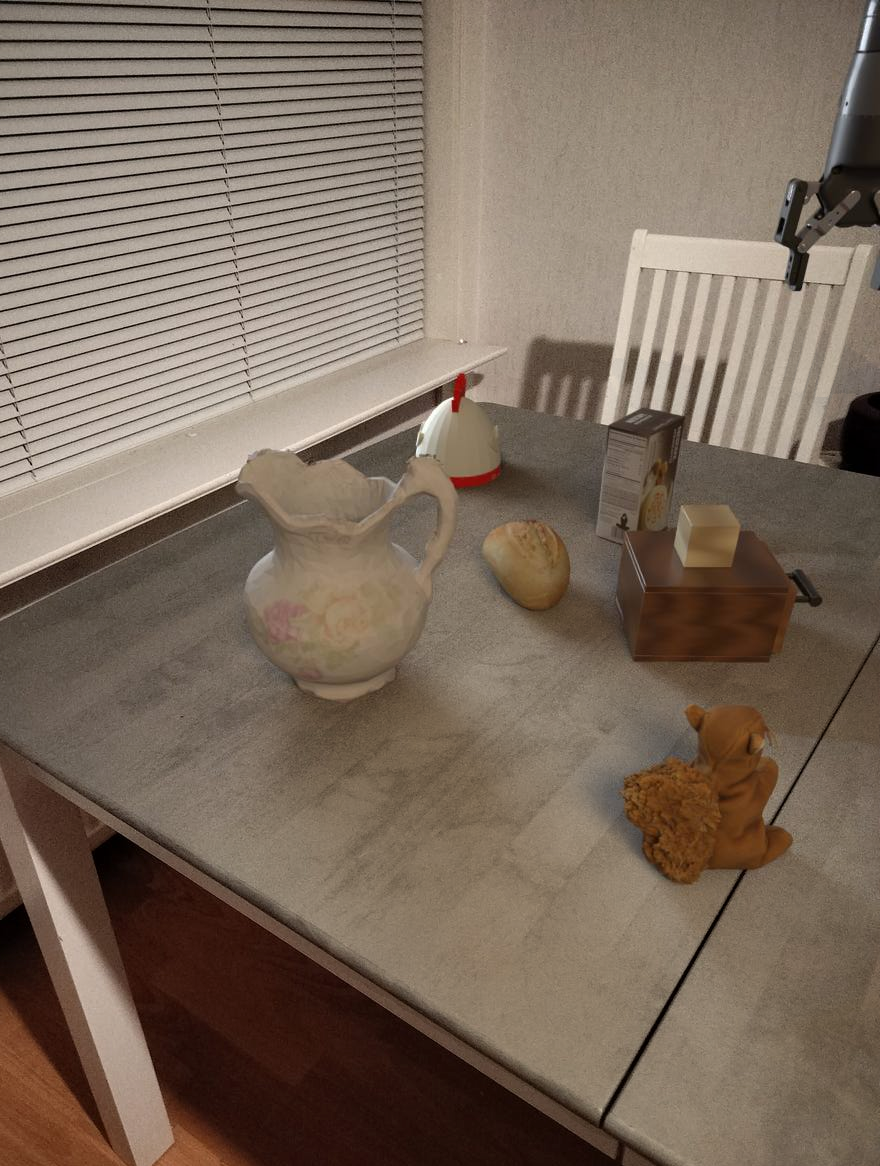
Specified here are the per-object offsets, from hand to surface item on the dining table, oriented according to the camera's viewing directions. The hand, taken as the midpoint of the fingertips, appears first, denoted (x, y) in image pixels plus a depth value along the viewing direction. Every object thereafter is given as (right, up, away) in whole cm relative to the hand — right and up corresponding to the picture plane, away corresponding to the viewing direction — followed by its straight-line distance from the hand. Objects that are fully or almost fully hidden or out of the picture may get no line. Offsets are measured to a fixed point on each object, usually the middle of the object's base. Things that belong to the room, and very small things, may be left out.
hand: (835, 289), depth 90 cm
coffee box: (-14, -22, +29) cm, 39 cm away
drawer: (-9, -35, +8) cm, 37 cm away
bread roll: (-30, -30, +17) cm, 46 cm away
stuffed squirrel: (-21, -55, -19) cm, 62 cm away
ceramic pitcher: (-51, -40, +4) cm, 65 cm away
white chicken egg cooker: (-37, -10, +48) cm, 62 cm away
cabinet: (-13, -36, +8) cm, 39 cm away
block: (-13, -28, +3) cm, 31 cm away
